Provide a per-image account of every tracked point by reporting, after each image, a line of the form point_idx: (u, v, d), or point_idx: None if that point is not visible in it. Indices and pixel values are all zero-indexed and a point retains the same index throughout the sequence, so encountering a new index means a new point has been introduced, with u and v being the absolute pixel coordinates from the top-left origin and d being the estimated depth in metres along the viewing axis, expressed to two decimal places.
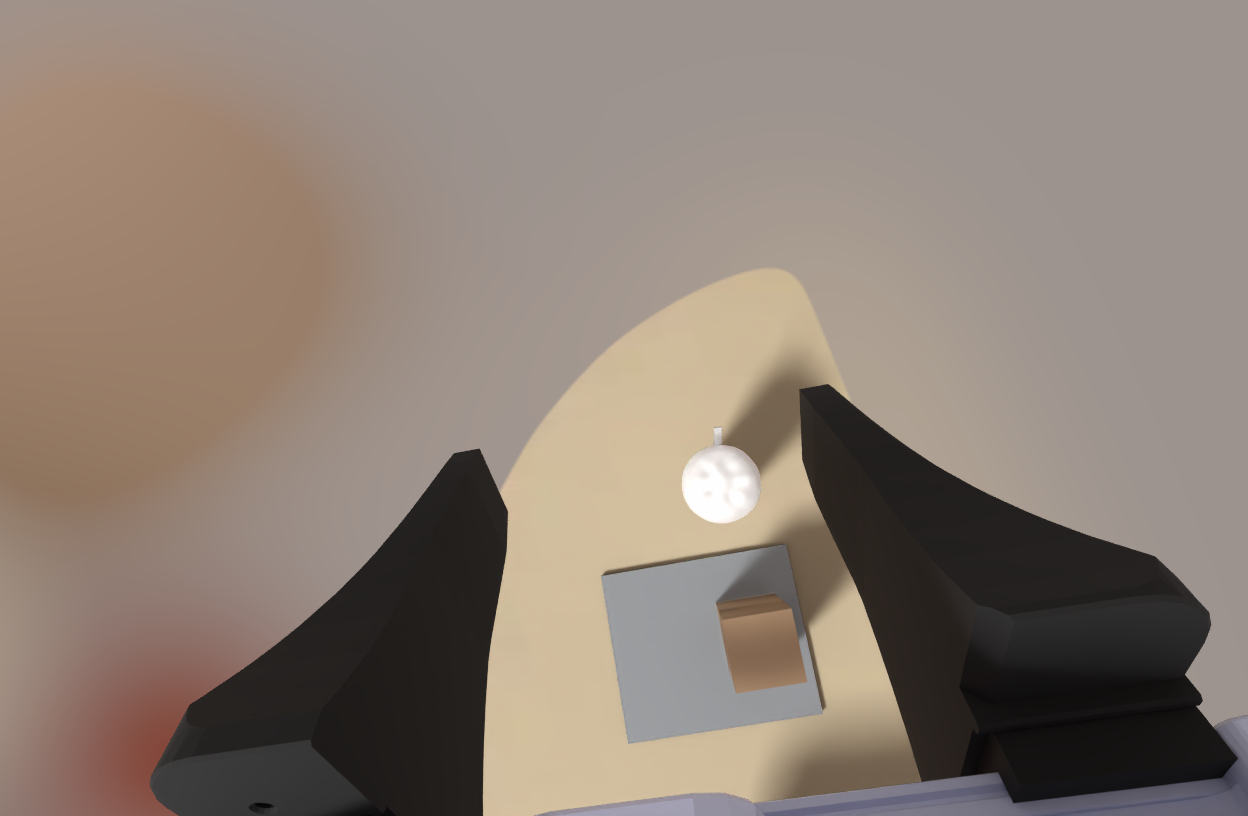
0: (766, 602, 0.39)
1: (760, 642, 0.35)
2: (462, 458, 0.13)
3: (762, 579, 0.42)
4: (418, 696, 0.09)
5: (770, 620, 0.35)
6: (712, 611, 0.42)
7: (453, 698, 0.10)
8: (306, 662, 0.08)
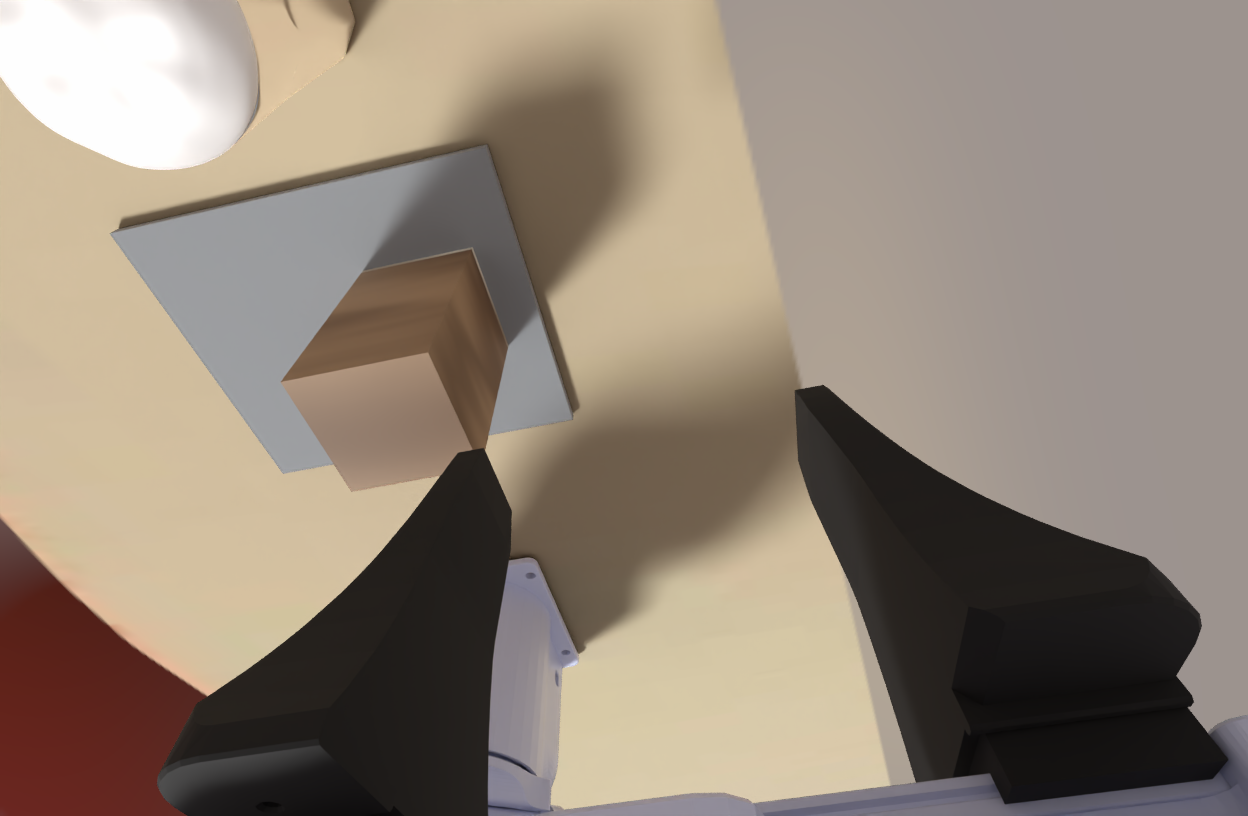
0: (422, 298, 0.18)
1: (376, 415, 0.17)
2: (466, 457, 0.13)
3: (446, 223, 0.21)
4: (424, 695, 0.09)
5: (386, 376, 0.16)
6: None
7: (458, 697, 0.10)
8: (311, 661, 0.08)
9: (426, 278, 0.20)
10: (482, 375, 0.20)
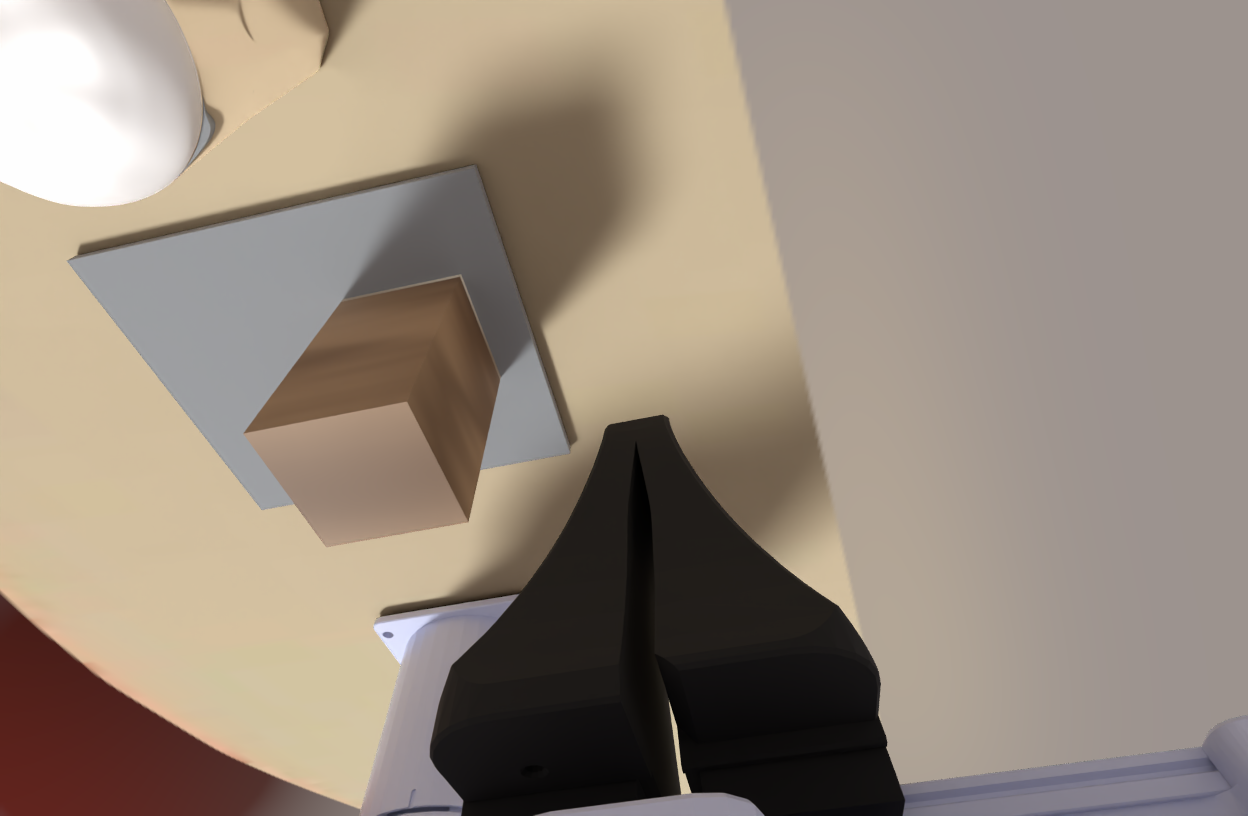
0: (404, 334, 0.17)
1: (351, 467, 0.15)
2: (622, 429, 0.13)
3: (432, 249, 0.19)
4: (645, 663, 0.09)
5: (361, 427, 0.14)
6: None
7: (655, 668, 0.10)
8: (558, 622, 0.08)
9: (409, 310, 0.18)
10: (471, 416, 0.18)
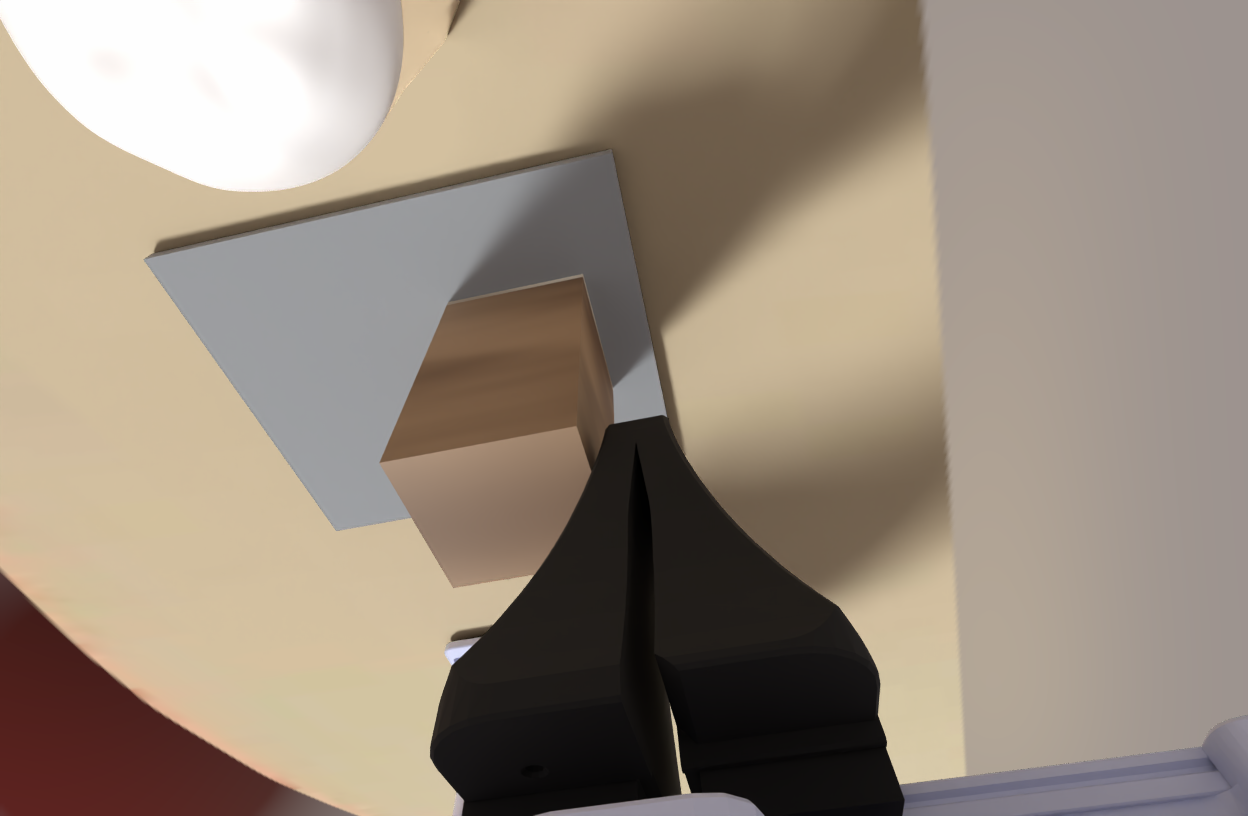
0: (540, 343, 0.15)
1: (497, 500, 0.13)
2: (623, 429, 0.13)
3: (554, 245, 0.17)
4: (645, 662, 0.09)
5: (518, 455, 0.12)
6: None
7: (656, 668, 0.10)
8: (558, 622, 0.08)
9: (536, 315, 0.16)
10: None
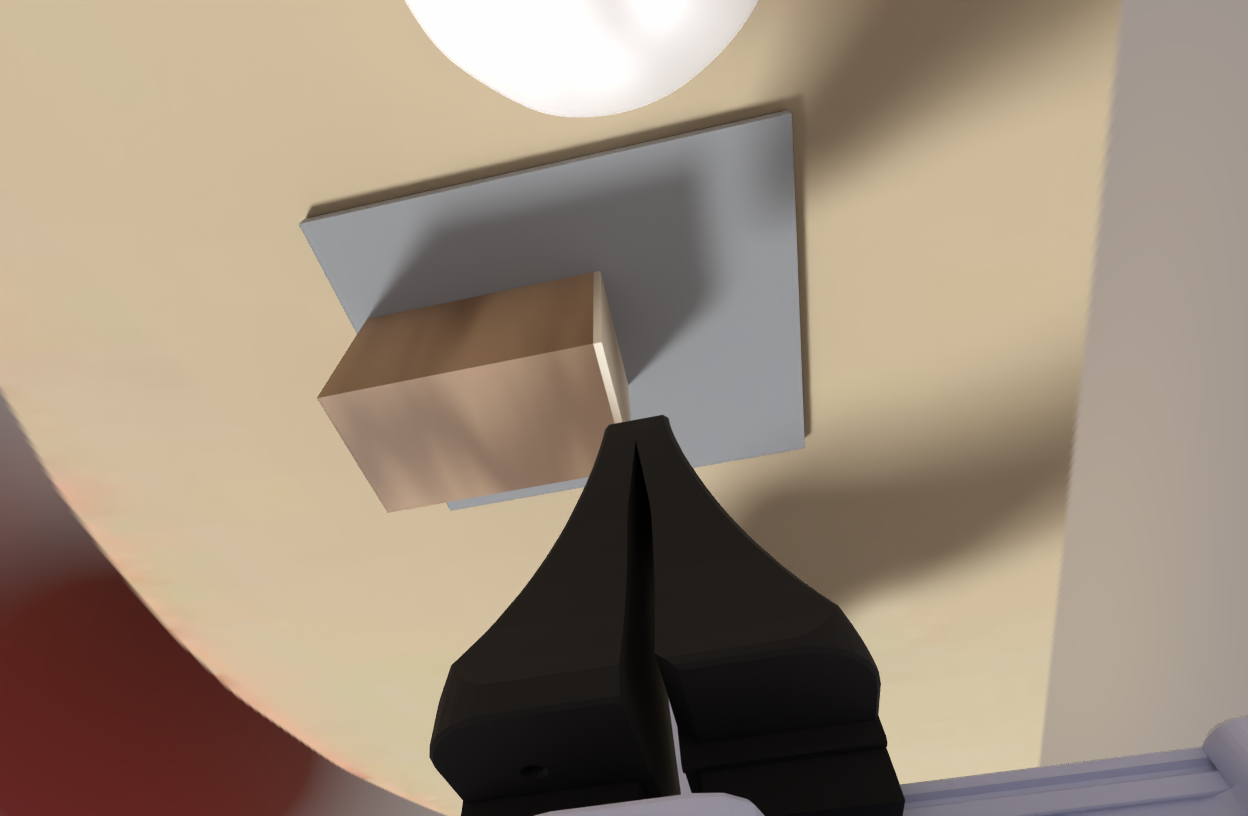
0: (461, 349, 0.15)
1: None
2: (622, 429, 0.13)
3: (717, 211, 0.17)
4: (645, 662, 0.09)
5: None
6: None
7: (655, 668, 0.10)
8: (558, 623, 0.08)
9: (522, 333, 0.15)
10: (479, 461, 0.16)
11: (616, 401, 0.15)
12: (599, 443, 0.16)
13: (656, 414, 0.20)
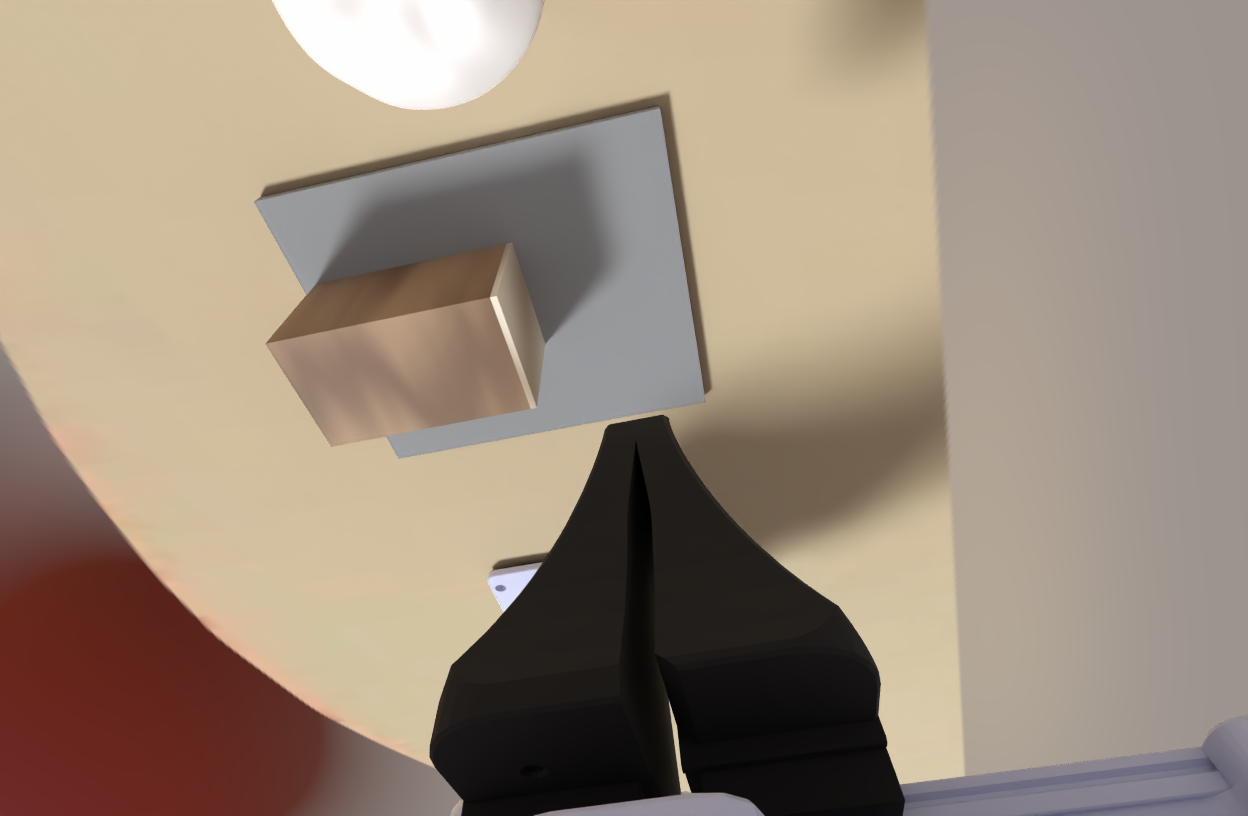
0: (386, 304, 0.18)
1: None
2: (622, 429, 0.13)
3: (606, 191, 0.20)
4: (645, 662, 0.09)
5: None
6: None
7: (655, 668, 0.10)
8: (558, 622, 0.08)
9: (437, 291, 0.18)
10: (405, 400, 0.19)
11: (515, 347, 0.18)
12: (504, 384, 0.19)
13: (572, 370, 0.24)
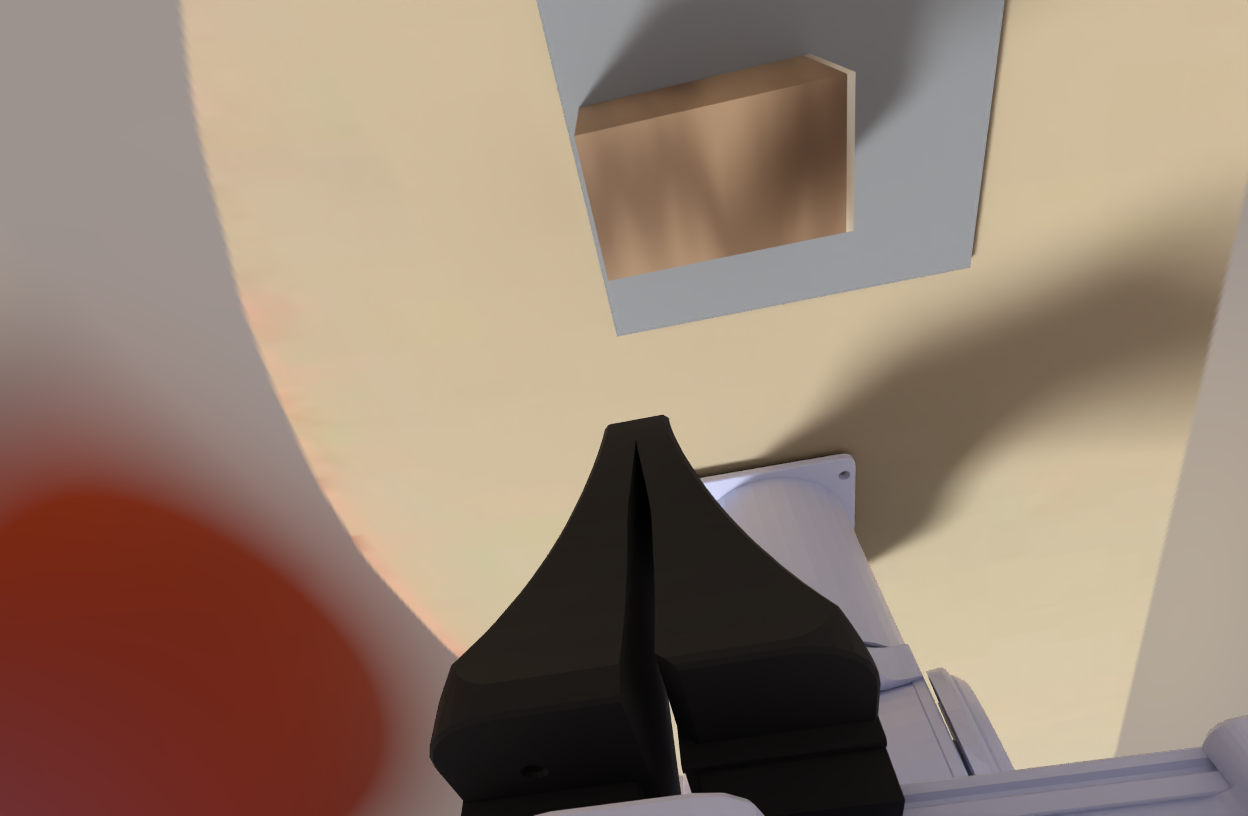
0: (704, 98, 0.16)
1: None
2: (622, 429, 0.13)
3: None
4: (645, 662, 0.09)
5: None
6: None
7: (655, 668, 0.10)
8: (558, 622, 0.08)
9: (762, 83, 0.16)
10: (708, 217, 0.17)
11: (853, 146, 0.16)
12: (827, 198, 0.17)
13: None
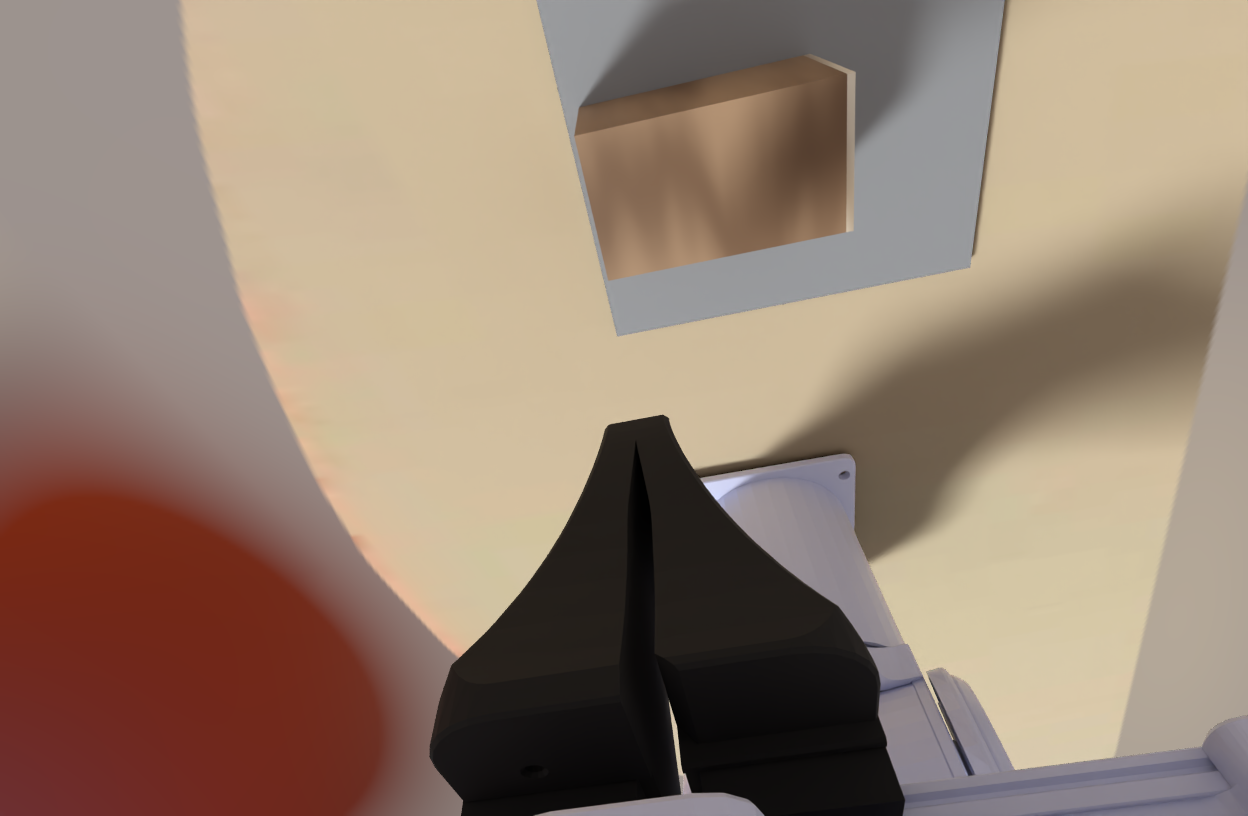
0: (704, 98, 0.16)
1: None
2: (622, 429, 0.13)
3: None
4: (645, 662, 0.09)
5: None
6: None
7: (655, 668, 0.10)
8: (558, 622, 0.08)
9: (762, 83, 0.16)
10: (708, 217, 0.17)
11: (853, 146, 0.16)
12: (827, 198, 0.17)
13: None
